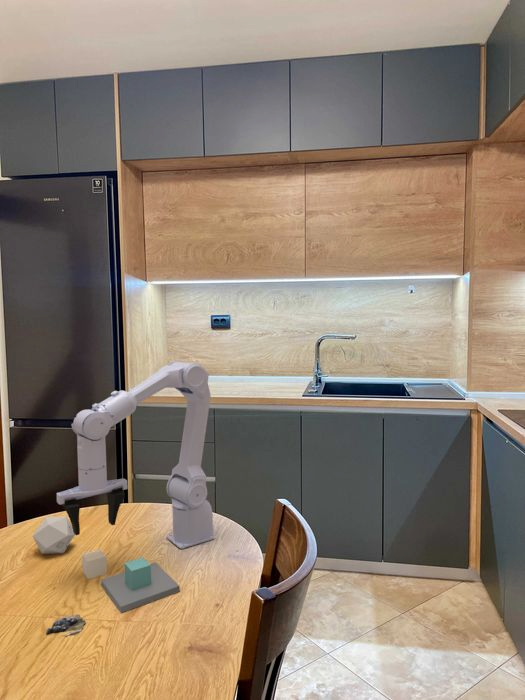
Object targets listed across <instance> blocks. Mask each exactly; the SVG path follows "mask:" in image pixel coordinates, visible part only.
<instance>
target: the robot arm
mask: <svg viewBox="0 0 525 700" xmlns="http://www.w3.org/2000/svg"><path fill="white" fill-rule="evenodd" d="M209 376H210V375H209V372H208V371H207V370H206V369H205V368H204V367H203V365H202V364H201V363H197V362H194V363H193V362H192V363H191V362H183V361H182V362H181V361H179V360H175V361H171V362H169V363H168V364H167V365H164V366H162V367H161V368H159V370H158V371H156V372H155V373H153V374H152V375H150V376H149V377H148V378H147V379H145V380H143V381H142V382H140V383H139V384H138V385H136V386H135V387H133V388H132V389H130V390H128V391H126V390H122V389H121V390H119V391H118V390H114V391H112V392H111V393H110V395H111V396H109V397H107V398H106V399H104V400H102V401H100V402H99V403H96V402H95V403H93V404H92V405H91V406H92V408H91V409H82V410H81V411H79V412H78V413H77V414H76V415H75V416H76V417H73V418H74V419H73V423H71V429H72V431H73V432H74V433H75V434H76V443H77V445H76V446H77V471H78V476H77V477H78V486H74V487H73V488H70V489H67V490H63V491H59V492H56V503H57V504H58V505H62V507H63V509H64V510H65V512H66V514H67V516H68V519H69V522H70V524H71V526H72V528H73V532H74V534H75V536H79V535H80V534H81V528H80V511H81V510H80V509H81V506H80V505H79V504H78V501H77V500H81V499H85V498H88V497H94V496H97V495H102V494H106V499H107V509H108V510H107V511H108V513H107V518H108V523H109V524H110V525H111V526H115V525H116V521H117V517H118V513H119V510H120V507H121V505H122V502H123V500H124V499H125V495H126V494H125V491H124V490H128V480H127V479H125V478H119V479H111V480H108V475H107V473H108V472H107V468H108V467H107V448H106V447H107V446H106V445H107V443H106V436H107V435H108V434H109V432H110V429H111V428H112V427H114V426H115V425H116V424H118V423H120V422H121V421H123V420H124V419H126V418H127V417H129V416H130V415H132V414H133V413H134V412H136V409H137V405H138V404H140V403H141V402H143V401H145V400H147V399H149V398H150V397H152V396H154V395H156V394H157V393H159V392H160V391H162V390H164V389H167V388H169V389H171V388H174V389H176V390H177V391H179V392H180V393H181V395H182V396H183V397H184V398H185V399H186V400H187V404H186V409H185V412H186V413H185V417H184V424H183V431H182V433H183V434H182V438H181V446H180V453H179V459H178V463H177V464H176V466H174V467H173V468H172V470H171V476H170V477H169V479H168V481H167V483H166V494H167V495H168V497H170V498H171V504H172V505H171V506H172V508H171V510H172V534H169V535H168V534H167V536H166V538H167V539H168V540H169V541H170V542H171V543H173V545H175V546H176V547H177V548H178V549H180V550H184V549H186V548H189V547H192V546H195V545H198V544H202V543H205V542H208V541H211V540H214V539H216V538H215V535H214V517H213V515H214V514H213V507H212V505H211V503H210V501H209V500H207V497H208V488H207V475H206V473H205V472H204V470H203V468H202V461H203V460H202V459H203V454H204V448H205V447H204V445H205V439H206V433H207V426H208V425H207V424H208V418H209V410H210V402H211V395H212V394H211V391H210V387H209Z"/></svg>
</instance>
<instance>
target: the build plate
mask: <svg viewBox="0 0 525 700" xmlns="http://www.w3.org/2000/svg"><path fill="white" fill-rule="evenodd" d="M149 564H150V565H151V584H150V585H147V586H144V587H141V588H139V589H136V590H133V591H132V590H131V589H130V587H129V586H128V585H127V584H126V582H125V571H123V572H120V573H117V574H114V575H111V576H108V577H105V578H101V579H100V586H101V588H102V589H104V592H105V593H106V594H107V595H108V598H110V599H111V601H112V602H113V604H114V605H115V606H116V608H117V609H118V611H119V612H120V613H121V614H122V613H125V612H127V611H130V610H133V609H136V608H140V607H141V606H144V605H147V604H150V603H152V602H155V601H157V600H161V599H164V598H165V597H169V596H171V595H174V594H177V593H180V591H181V590H180V588H181V587H180V584H178V583H177V582H176V581H175V579H173V577H171V576H170V575H169V573H167V572H166V571H165V570H164V569H163V568H162V567H161V566H160V565H159V564H158V563H157V562H156V561H154V562H152V563H149Z"/></svg>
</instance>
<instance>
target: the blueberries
mask: <svg viewBox="0 0 525 700" xmlns="http://www.w3.org/2000/svg"><path fill="white" fill-rule="evenodd" d="M86 623H87V621H86V619H84V618H82V617H81V614H75V615H74V614H72V615H68V616H65V617H61V618H60V619H57V620H55V621H54V622H53V623H52V625H51V627H49V628H47V629H46V632H45V635H46V636H48V635H52V634H60V633H66V632H68V633H66V634H64V635H62V637H68V636H70V635H71V636H73V635H77V634H79V633H80V632H82V630H84V627H85V624H86Z"/></svg>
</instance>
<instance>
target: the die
mask: <svg viewBox="0 0 525 700" xmlns="http://www.w3.org/2000/svg"><path fill="white" fill-rule="evenodd" d="M75 536H76V535H75V534H74V532H73V528H72V524H71V521H70V519H69V517H67V516H46V517H45V518H44V519H43V520H42V522H41V523H40V524H39V525H38V528H37V529H36V531H35V532H34V533H33V534H32V538H33V540H34V542H35V544H36V545H37V548H38V549H39V551H40V553H41V554H42V555H45V554H47V555H49V554H54V555H55V554H56V555H57V554H64V553H65V551H66V550H67V548H68V546H69V545H70V543H71V542H72V540H73V539H74V537H75Z"/></svg>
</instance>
